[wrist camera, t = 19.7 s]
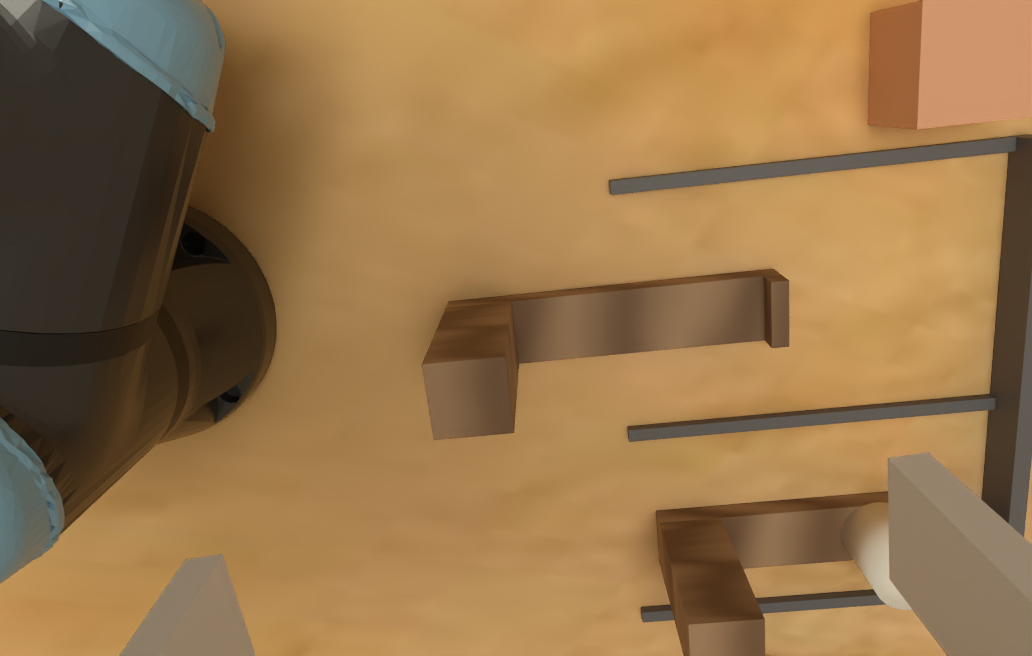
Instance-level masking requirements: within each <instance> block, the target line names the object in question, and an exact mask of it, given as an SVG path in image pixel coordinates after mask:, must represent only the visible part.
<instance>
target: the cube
mask: <svg viewBox="0 0 1032 656" xmlns="http://www.w3.org/2000/svg"><path fill="white" fill-rule="evenodd" d="M1026 117H1032V0H922V1H918V2H914V3H910V4H905V5H901V6H897V7H893V8H889V9H885V10H881V11H876V12H872V13H870V53H869V93H868V125H876V126H887V127H897V128H908V129H925V128H934V127H943V126H952V125H962V124H971V123H980V122H989V121H998V120H1007V119H1016V118H1026Z"/></svg>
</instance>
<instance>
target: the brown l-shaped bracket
mask: <svg viewBox="0 0 1032 656" xmlns="http://www.w3.org/2000/svg"><path fill="white" fill-rule="evenodd" d="M876 502H885V503H888V492H878V493H866V494H854V495H842V496H830V497H818V498H806V499H794V500H782V501H770V502H758V503H746V504H734V505H722V506H709V507H697V508H685V509H673V510H661V511H656V517H657V532H658V548H659V562H660V566H661V570H662V574H663V578H664V581H665V585H666V589H667V593H668V597H669V601H670V604H671V608H672V612H673V616H674V620H675V624H676V628H677V631H678V635H679V639H680V643H681V647H682V651H683V655H684V656H765V619H764V617H763V614H762V612H761V610H760V607H759V605H758V603H757V600H756V598H755V596H754V593H753V591H752V589H751V587H750V584H749V582H748V580H747V577H746V575H745V573H744V570H743V569H745V568H758V567H771V566H784V565H796V564H809V563H822V562H835V561H848V560H853V558H852V557H851V555H850V554H849V552H848V551H847V550H846V548H845V546H844V544H843V541H842V530H843V526H844V524H845V522H846V520H847V519H848V517H849V516H850V515H851V514H852V513H853V512H854V511H855V510H857V509H858V508H860V507H862V506H864V505H867V504H870V503H876Z"/></svg>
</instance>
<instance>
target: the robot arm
mask: <svg viewBox="0 0 1032 656" xmlns="http://www.w3.org/2000/svg"><path fill="white" fill-rule="evenodd" d="M224 56H225V39H224V34H223V31H222V29H221V26H220V24H219V22H218V20H217V19H216V17H215V15H214V14H213V13H212V11H211V10H210V9H209V8H208V7H207V6H206V5H205V4H204V3H203V2H202V1H201V0H0V583H2V582H3V581H5V580H6V579H7V578H9V577H10V576H12V575H13V574H14V573H16V572H17V571H19V570H20V569H21V568H23V567H24V566H25V565H27V564H28V563H30V562H31V561H32V560H34V559H36V558H38V557H40V556H42V555H43V554H44V553H45V552H46V551H48V550H49V549H50V548H51V547H53V544H54V543H56V542H57V541H58V538H59V535H60V534H62V533H63V532H64V531H65V530H66V529H67V528H68V527H69V526H70V525H71V524H72V523H73V522H74V521H75V520H76V519H77V518H79V517H80V516H81V515H82V514H83V513H84V512H85V511H86V510H87V509H88V508H89V507H90V506H91V505H92V504H93V503H94V502H96V501H97V500H98V499H99V498H100V497H101V496H102V495H103V494H104V493H105V492H106V491H107V490H108V489H109V488H110V487H111V486H113V485H114V484H115V483H116V482H117V481H118V480H119V479H120V478H121V477H122V476H123V475H124V474H125V473H126V472H127V471H128V470H130V469H131V468H132V467H133V466H134V465H135V464H136V463H137V462H138V461H139V460H140V459H141V458H142V457H143V456H144V455H145V454H147V453H148V452H149V451H150V450H151V449H152V448H153V447H154V446H155V445H156V444H159V443H163V442H166V441H170V440H174V439H177V438H181V437H185V436H188V435H192V434H195V433H198V432H201V431H203V430H205V429H208V428H210V427H212V426H213V425H215V424H217V423H219V422H220V421H222V420H223V419H225V418H226V417H228V416H229V415H230V414H231V413H233V412H234V411H235V410H236V409H237V408H238V407H239V406H240V405H241V404H242V403H243V402H244V401H245V400H246V399H247V398H248V397H249V396H250V394H251V393H252V392H253V391H254V390H255V389H256V387H257V386H258V385H259V383H260V382H261V380H262V378H263V377H264V375H265V373H266V371H267V369H268V366H269V364H270V361H271V358H272V355H273V350H274V346H275V338H276V318H275V310H274V304H273V300H272V296H271V293H270V290H269V287H268V285H267V282H266V280H265V278H264V276H263V274H262V272H261V270H260V268H259V266H258V265H257V263H256V261H255V260H254V259H253V257H252V256H251V254H250V253H249V252H248V250H247V249H246V248H245V247H244V245H243V244H242V243H241V242H240V241H239V240H238V239H237V238H236V237H235V236H234V235H233V234H232V233H231V232H230V231H228V230H227V229H226V228H225V227H224V226H222V225H221V224H220V223H218V222H217V221H215V220H214V219H212V218H211V217H209V216H208V215H206V214H204V213H202V212H200V211H198V210H196V209H194V208H192V207H190V206H188V203H189V200H190V196H191V192H192V188H193V184H194V181H195V177H196V173H197V169H198V165H199V162H200V158H201V154H202V150H203V146H204V143H205V139H206V135H207V132H210V133H213V131H214V129H215V123H216V121H215V119H214V117H213V115H212V113H213V108H214V104H215V99H216V94H217V90H218V85H219V80H220V76H221V71H222V66H223V61H224ZM888 517H889V579H890V581H891V582H892V583H893V585H894V586H895V587H896V589H897V590H898V591H899V593H900V594H901V595H902V596H903V598H904V599H905V600H906V602H907V603H908V604H909V606H910V607H911V608H912V610H913V611H914V612H915V614H916V615H917V616H918V618H919V619H920V620H921V622H922V623H923V624H924V625H925V627H926V628H927V629H928V631H929V632H930V633H931V635H932V636H933V637H934V639H935V640H936V641H937V643H938V644H939V645H940V647H941V648H942V649H943V651H944V652H945V653H946V654H947V656H1032V544H1031V543H1030V542H1029V541H1027V540H1026V539H1025V538H1024V537H1023V536H1022V535H1021V534H1020V533H1018V532H1017V531H1016V530H1015V529H1014V528H1013V527H1012V526H1011V525H1009V524H1008V523H1007V522H1006V521H1005V520H1004V519H1003V518H1002V517H1000V516H999V515H998V514H997V513H996V512H995V511H994V510H993V509H991V508H990V507H989V506H988V505H987V504H986V503H985V502H984V501H982V500H981V499H980V498H979V497H978V496H977V495H976V494H975V493H973V492H972V491H971V490H970V489H969V488H968V487H967V486H966V485H964V484H963V483H962V482H961V481H960V480H959V479H958V478H957V477H955V476H954V475H953V474H952V473H951V472H950V471H949V470H948V469H946V468H945V467H944V466H943V465H942V464H941V463H940V462H939V461H937V460H936V459H935V458H934V457H933V456H932V455H931V454H930V453H928V452H927V453H920V454H913V455H907V456H900V457H893V458H888ZM119 656H256V655H255V652H254V649H253V646H252V643H251V640H250V637H249V634H248V631H247V628H246V625H245V622H244V618H243V615H242V612H241V609H240V606H239V603H238V600H237V597H236V594H235V591H234V588H233V585H232V582H231V579H230V576H229V573H228V570H227V567H226V564H225V561H224V557H223V554H221V555H214V556H207V557H200V558H193V559H186V560H185V561H184V562H183V564H182V565H181V567H180V568H179V569H178V571H177V572H176V574H175V575H174V577H173V578H172V580H171V581H170V583H169V584H168V585H167V587H166V588H165V590H164V591H163V593H162V594H161V596H160V597H159V599H158V600H157V602H156V603H155V604H154V606H153V607H152V609H151V610H150V612H149V613H148V615H147V616H146V618H145V619H144V620H143V622H142V623H141V625H140V626H139V628H138V629H137V631H136V632H135V634H134V635H133V636H132V638H131V639H130V641H129V642H128V644H127V645H126V647H125V648H124V650H123V651H122V653H121V654H120V655H119Z"/></svg>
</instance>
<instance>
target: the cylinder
mask: <svg viewBox="0 0 1032 656" xmlns="http://www.w3.org/2000/svg"><path fill="white" fill-rule="evenodd" d="M842 541H843V544H844V546H845V548H846V550H847V551H848V552H849V554H850V555H851V557H852V558H853V560H854V561H855V563H856V564H857V566H858V567H859V569H860V570H861V572H862V573H863V575H864V576H865V578H866V579H867V581H868V582H869V584H870V585H871V587H872V588H873V589H874V591H875V592H876V594H877V595H878V597H879V598H880V599H881V600H882V601H883V602H884V603H885V604H887V605H888V606H890V607H893V608H895V609H900V610H912V608H911V607H910V606H909V604H908V603H907V602H906V600H905V599H904V598H903V596H902V595H901V594H900V593H899V591H898V590H897V589H896V587H895V586H894V585H893V583H892V582H891V581H890V579H889V517H888V503H885V502H876V503H870V504H867V505H864V506H862V507H860V508H858V509H857V510H855V511H854V512H853V513H852V514H851V515H850V516H849V517H848V519H847V520H846V522H845V524H844V526H843V530H842Z"/></svg>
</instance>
